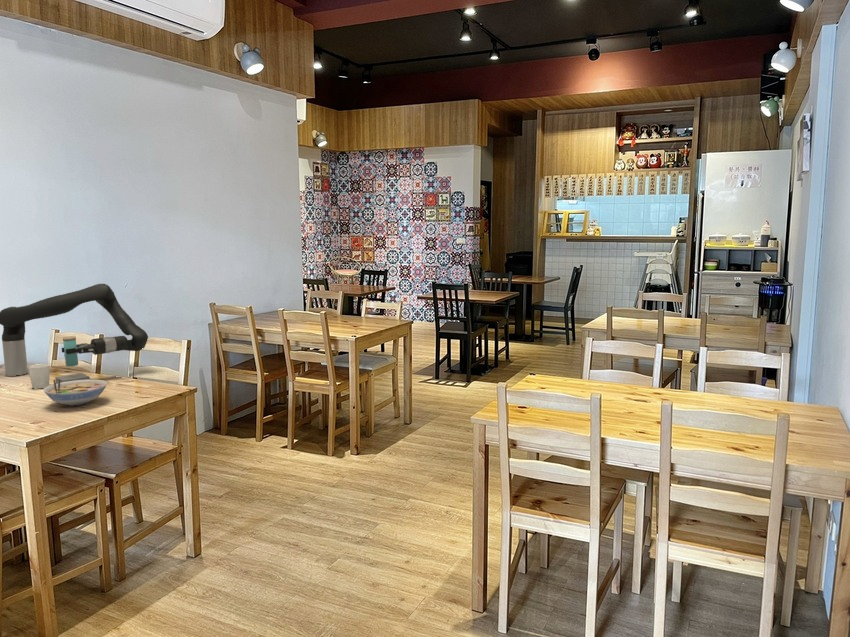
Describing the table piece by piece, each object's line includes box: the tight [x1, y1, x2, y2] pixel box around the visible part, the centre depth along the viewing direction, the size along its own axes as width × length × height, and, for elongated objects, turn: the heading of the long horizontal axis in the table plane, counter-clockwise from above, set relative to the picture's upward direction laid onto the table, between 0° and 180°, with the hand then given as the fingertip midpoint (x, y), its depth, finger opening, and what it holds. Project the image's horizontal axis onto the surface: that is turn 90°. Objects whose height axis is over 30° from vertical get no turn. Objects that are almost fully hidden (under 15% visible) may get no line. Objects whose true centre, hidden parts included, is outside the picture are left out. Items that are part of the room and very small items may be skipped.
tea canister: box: [62, 335, 79, 367], centre depth 283 cm, size 5×5×13 cm
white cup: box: [28, 363, 51, 390], centre depth 278 cm, size 8×8×10 cm
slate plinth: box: [54, 372, 91, 384], centre depth 285 cm, size 11×11×4 cm
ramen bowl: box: [42, 379, 108, 407], centre depth 252 cm, size 25×23×8 cm
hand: (64, 351), depth 281 cm, fingers closed on tea canister, 5 cm apart
